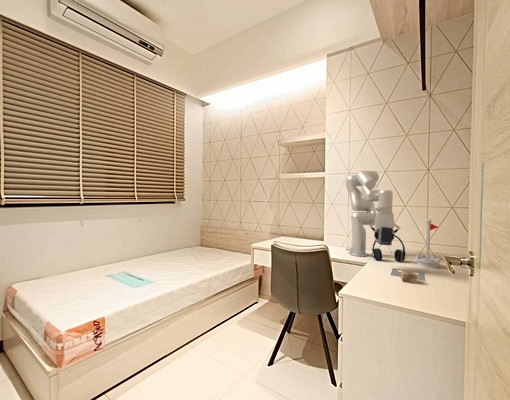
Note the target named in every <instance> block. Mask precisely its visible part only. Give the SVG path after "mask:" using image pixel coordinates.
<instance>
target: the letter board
mask: <svg viewBox="0 0 510 400" xmlns="http://www.w3.org/2000/svg"><path fill="white" fill-rule="evenodd" d="M401 270H402V271H411V272H415V273H416V275H417V281H422V282H426V274H425V272H421V271H414V270H406V269H401V268H395V267H392V269H391V272H390V276H392V277H399V278H401Z"/></svg>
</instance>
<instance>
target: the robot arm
mask: <svg viewBox="0 0 510 400" xmlns="http://www.w3.org/2000/svg"><path fill="white" fill-rule="evenodd" d="M379 178H380V175H379V173H378V172H377V171H376V170H360V171H359V172H358V173H357V174H353V175H352V174H351V175H348V176H347V177H346V180H345V186H346V189H347V192H348V194H349V200H350V206H351V209H352V210H353V211H355V212H353V213H352V214H351V215H350V220H351V229H352V230H351V247H345V251H349V255H351V256H356V257H368V256H369V254H368V252H366V250H367V248H366V247H367V246H366V245H367V230H366V228H365V227H364V226H369V227H370V229H371V230H372V232H374V238H375V240H376V239H377V235H378V232H377V230H378V229H380V227H389V228H392V241H393V240H395V237H394V235H396V233H397V232H398V231H399V230H400V229H401V227H400V226H399V225H398V224H397V223H395V216H394V213H393V198H394V197H393V190H390V189H374V188H375V187H376V185H377V182H378V181H379ZM358 187H360V189H359V188H358ZM375 202H377V204H378V205H377V207H376V208H375ZM395 228H396V229H395Z"/></svg>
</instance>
